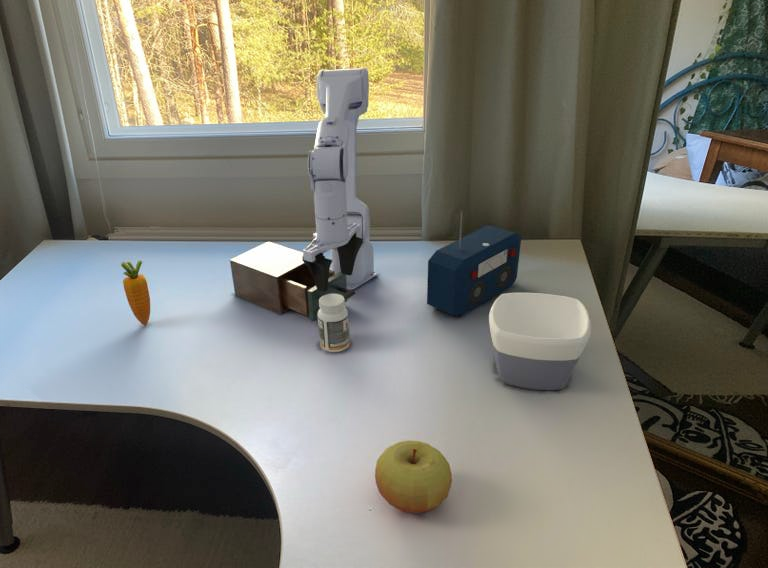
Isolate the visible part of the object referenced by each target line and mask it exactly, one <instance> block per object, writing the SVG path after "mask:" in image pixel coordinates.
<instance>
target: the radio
mask: <svg viewBox="0 0 768 568" xmlns="http://www.w3.org/2000/svg"><path fill="white" fill-rule="evenodd" d="M463 214H464V213H463V210H462V211H460V227H459V239H457V240H455V241H453V242H451V243H449V244H447V245H444V246H443V247H441V248H439V249H436V250H435V252H434V253H433V254H432V256H430V258H429V259H428V260H427V284H426V286H427V287H426V288H427V289H426V305H429V306H431V307H432V308H435V309H437V310H439V311H440V310H441V311H443V312H445V313H447V314H450V315H452V316H456V317H462V316H464V315H465V314H467V313H469V312H470V311H472V310H474V309H475V308H477V307H478V306H480V305H482V304H484V303H485V302H487V301H488V300H490V299H493V298H494V297H496V296H498V295H499V294H501V293H503V292H504V291H507V290H508V289H510V288H511V287H512V286H513V285H514V284H515V282H516V280H517V279H518V273H519V272H518V271H519V262H520V254H521V244H522V235H521V234H519V233H517V232H513V231H510V230H506V229H503V228H499V227H496V226H492V225H489V224H488V225H486V226H484V227H481V228H480V229H477V230H475V231H473V232H471V233H469V234H468V235H465V236H463V237H462V231H463V229H462V227H463Z"/></svg>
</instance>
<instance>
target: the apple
mask: <svg viewBox="0 0 768 568" xmlns="http://www.w3.org/2000/svg"><path fill="white" fill-rule="evenodd" d="M452 475H453V474H452V470H451V465H450V463H449V461H448V460H447V458H446V457H445V456H444V455H443V453H442V452H441V451H440V450H438V449H437V448H436V447H434V446H432V445H431V444H429V443H428V442H427V443H426V442H423V441H420V440H403V441H398V442H396V443H394V444H392V445H390V446H388V447H387V448H385V450H384V451H383V452H382V453H381V454H380V456H379V457H378V458H377V460H376V466H375V471H374V479H375V484H376V487H377V490H378V493H379V494H380V495H381V497H382V498H383V499H384V500H385V501H386V502H387V503H388V504H389V505H390V506H392V507H393V508H396V509H398V510H400V511H401V512H404V513H405V512H406V513H410V514H421V513H426V512H428V511H431V510H434V509H436V508H438V506H440V505H441V504H442V503H443V502H444V501H445V500H446V498H448V496H449V493H450V490H451V487H452V482H453V479H452V478H453V476H452Z"/></svg>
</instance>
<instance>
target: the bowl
mask: <svg viewBox="0 0 768 568" xmlns="http://www.w3.org/2000/svg"><path fill="white" fill-rule="evenodd" d="M488 324H489V329H490V330H489V331H490V337H491V341H492V348H493V354H494V360H495V367H496V372H497V376H498V378H499V380H500V381H501V382H502V383H503V384H506V385H509V386H514V387H518V388H522V389H527V390H537V391H557V390H563V389H564V388H566V386H567V384H568V381H570V377H571V376H572V374H573V372H574V369H575V367H576V365H577V363H578V361H579V360H580V357H581V356H582V354H583V352H584V349H585V348H586V346H587V343H588V341H589V339H590V338H591V333H592V321H591V319H590V315H589V312H588V310H587V308H586V306H585V305H584V304H583V302H582V301H580V299H578V298H574V297H570V296H565V295H559V294H552V293H541V292H508V293H507V292H505V293H502V294H500V295H499V296H498V297H497V298H496V299H495V300H494V301H493V304H492V305H491V308H490V310H489V314H488Z"/></svg>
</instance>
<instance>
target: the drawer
mask: <svg viewBox="0 0 768 568" xmlns="http://www.w3.org/2000/svg"><path fill="white" fill-rule="evenodd" d="M280 284H281V293H282V303H283V306H285V307H287V308H289V310H292V311H294V312H297V313H300V314H302V315H304V316H308V317H309V321H310V322H313V323H315V322H318V315H317V314H318V311H319V309H320V307H319V299H320V298H321V297H322V296H324V295H327V294H339V295H342V296H343V297H344V299H345V304H346V303H348V300H349V299H351V298H353V297H354V296H356V294H357V292H356V289H351V290H347V282H346V275H345V274H342V273H341V272H339V273H337V274H335V272H334V271H332V269H330V270H329V285H328V290H327V291H326V292H324V291H321V290H318V289H317V287H316V284H315V281H314V279H313V276H312V274H311V272H310V270H309V269H308V267H307V266H304V267H302V268H300V269H298V270H296V271H295V272H293V273H291V274H289V275H287V276H285V277H283V278H282V279H280Z"/></svg>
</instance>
